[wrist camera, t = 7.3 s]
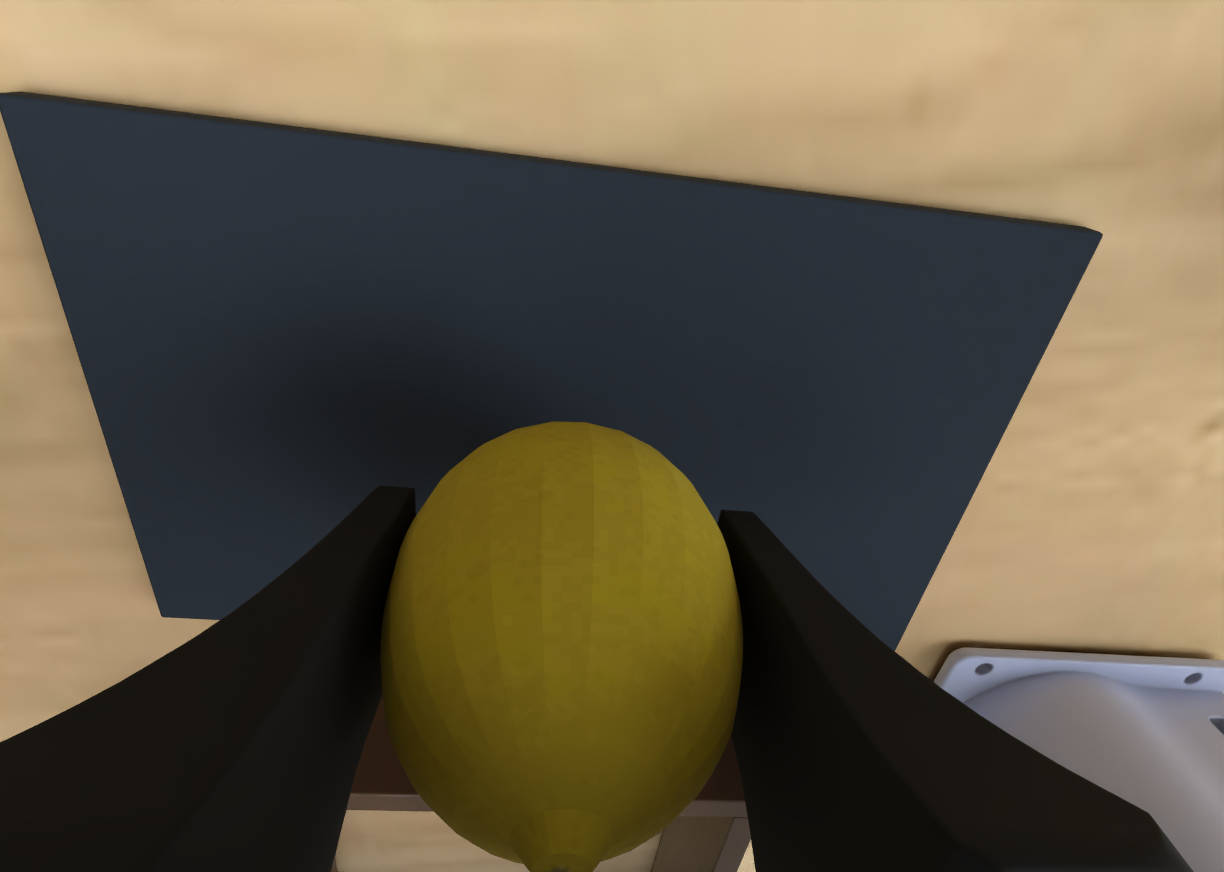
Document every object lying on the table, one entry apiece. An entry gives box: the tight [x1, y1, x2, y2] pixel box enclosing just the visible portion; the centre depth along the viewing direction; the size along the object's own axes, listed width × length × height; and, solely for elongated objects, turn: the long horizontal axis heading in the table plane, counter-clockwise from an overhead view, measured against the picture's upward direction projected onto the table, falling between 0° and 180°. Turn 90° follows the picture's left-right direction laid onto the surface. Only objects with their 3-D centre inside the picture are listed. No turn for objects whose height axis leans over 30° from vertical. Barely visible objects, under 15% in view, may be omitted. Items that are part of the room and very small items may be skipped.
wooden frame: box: [331, 694, 751, 872], centre depth 20 cm, size 13×13×4 cm
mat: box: [0, 92, 1103, 651], centre depth 15 cm, size 20×12×1 cm, turn 83°
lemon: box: [380, 422, 743, 872], centre depth 10 cm, size 6×6×8 cm
